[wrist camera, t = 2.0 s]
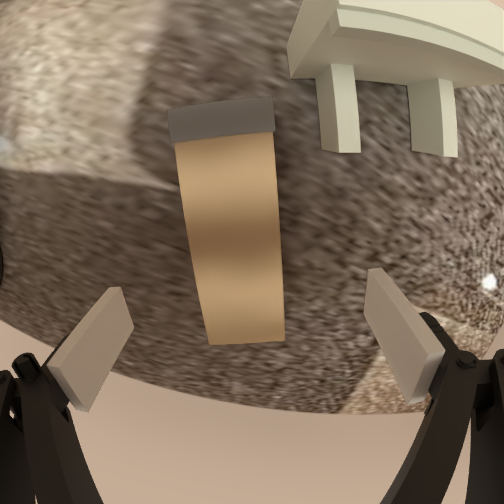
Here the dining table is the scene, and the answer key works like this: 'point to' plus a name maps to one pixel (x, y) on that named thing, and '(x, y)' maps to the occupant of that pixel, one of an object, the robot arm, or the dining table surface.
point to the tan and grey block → (232, 216)
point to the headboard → (396, 61)
